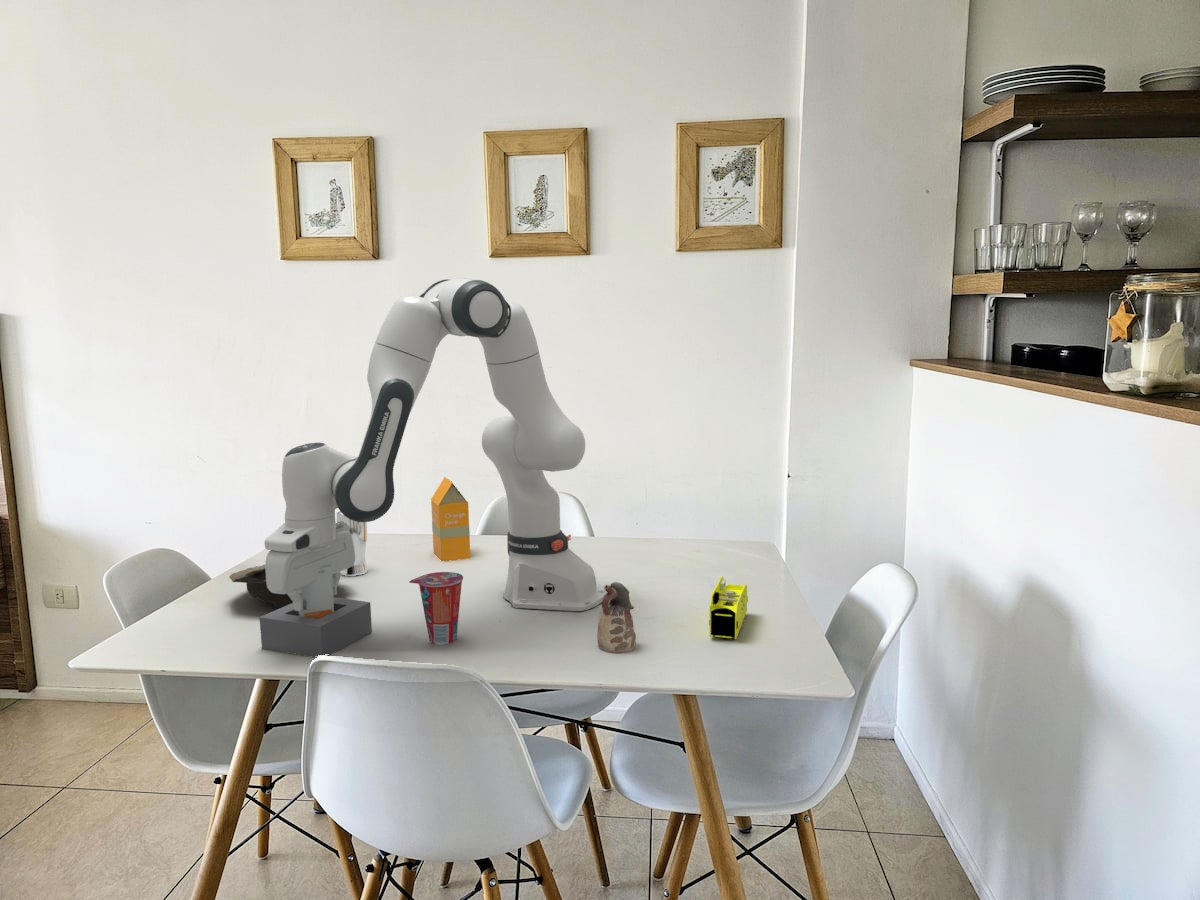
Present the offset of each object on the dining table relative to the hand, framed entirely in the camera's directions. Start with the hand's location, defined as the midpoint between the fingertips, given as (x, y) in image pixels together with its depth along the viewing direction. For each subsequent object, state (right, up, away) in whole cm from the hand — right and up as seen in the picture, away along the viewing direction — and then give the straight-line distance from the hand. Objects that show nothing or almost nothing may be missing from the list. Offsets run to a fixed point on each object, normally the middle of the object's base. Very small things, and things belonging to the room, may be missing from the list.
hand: (316, 602), depth 156 cm
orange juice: (+15, +1, +58) cm, 60 cm away
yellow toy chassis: (+78, -6, +5) cm, 79 cm away
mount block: (0, -7, +1) cm, 7 cm away
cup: (+23, -7, 0) cm, 25 cm away
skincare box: (0, -5, +1) cm, 5 cm away
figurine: (+56, -7, -4) cm, 57 cm away
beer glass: (-6, -1, +44) cm, 45 cm away
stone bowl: (-14, -4, +26) cm, 30 cm away
